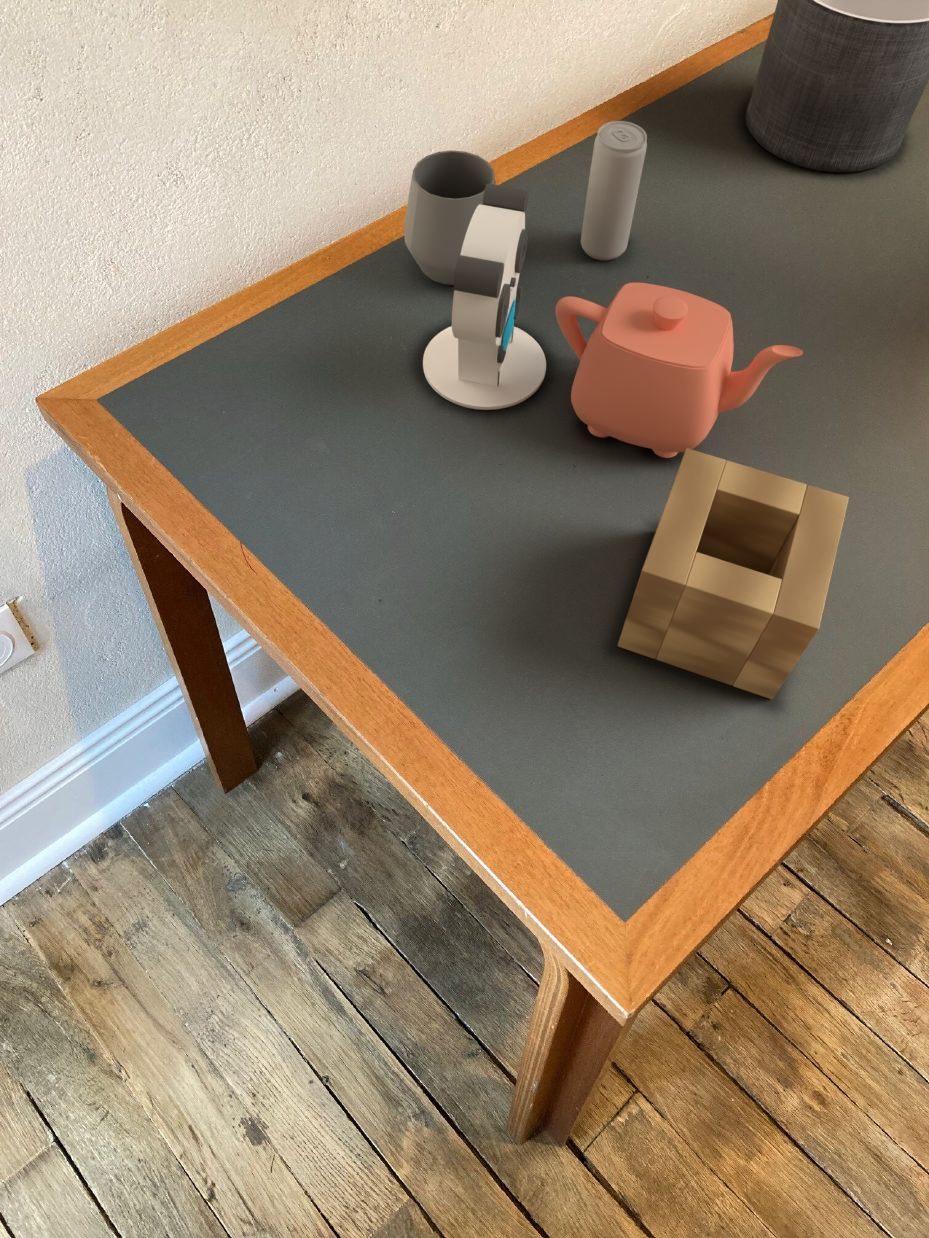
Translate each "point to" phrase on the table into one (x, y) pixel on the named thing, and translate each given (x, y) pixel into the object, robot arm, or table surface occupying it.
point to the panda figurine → (488, 313)
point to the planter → (840, 81)
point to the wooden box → (735, 574)
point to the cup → (443, 209)
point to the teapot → (658, 366)
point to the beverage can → (613, 189)
